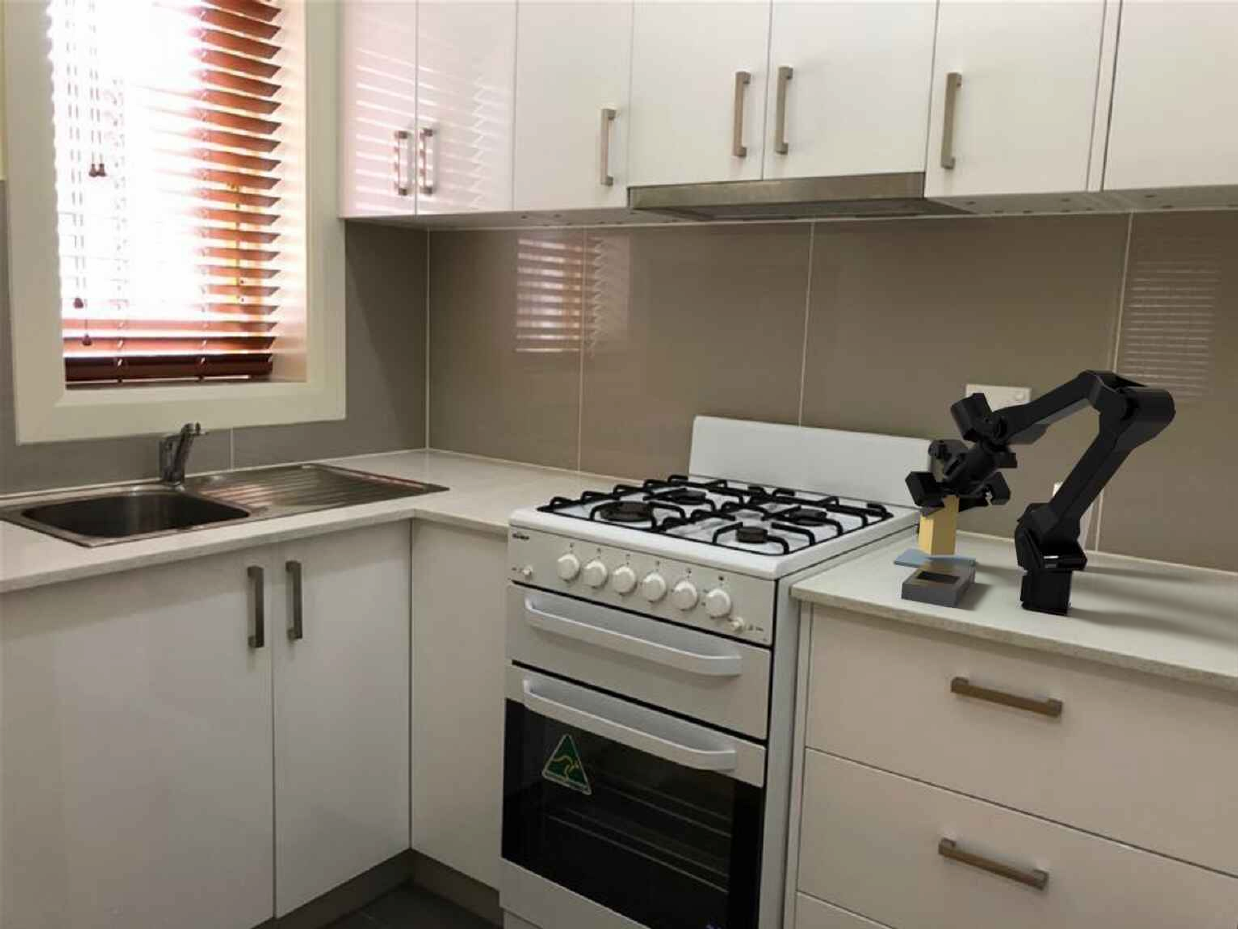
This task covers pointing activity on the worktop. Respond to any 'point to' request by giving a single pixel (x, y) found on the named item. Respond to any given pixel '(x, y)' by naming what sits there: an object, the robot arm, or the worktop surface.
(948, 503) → the mustard block
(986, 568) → the worktop surface
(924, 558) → the slate mat
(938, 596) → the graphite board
